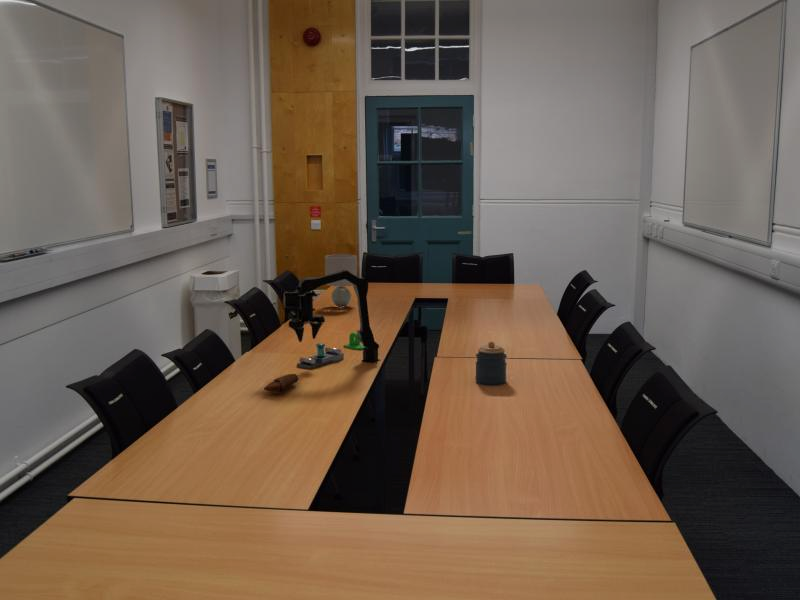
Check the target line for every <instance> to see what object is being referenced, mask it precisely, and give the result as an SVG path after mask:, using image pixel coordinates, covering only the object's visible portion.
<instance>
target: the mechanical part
mask: <svg viewBox="0 0 800 600" xmlns="http://www.w3.org/2000/svg"><path fill="white" fill-rule="evenodd" d="M357 338H358V334H357V331H353V332H351V333H350V334H349V339H348V341H349V343H347V344H346V343H345V344H344V345H343V348H346V349H350V350H357V351H363V348H365V347H364V346H363V344H362V343H361V342H360V341H359V339H357Z"/></svg>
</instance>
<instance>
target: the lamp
mask: <svg viewBox="0 0 800 600" xmlns="http://www.w3.org/2000/svg"><path fill="white" fill-rule="evenodd" d="M357 262H358V256H357V255H356V254H329V255H325V256H324V265H325V267H324V268H325V269H324V270H325V271H324V272H325V274H324V275H328V274H332V273H335V272H339V271H342V270H347V271H349V272H350V273H351V274H353V275H355V276H357V277H358V274H357V273H358V266H357V265H358V263H357ZM326 286H330V287H336V288H334V289H333V291H332V293H331V297H330V298H331V301H332V303H333V305H334V306H338V307H343V306H346V307H347V306H349V304H350V303H351V301H352V293H351V291H350V289H348V288H347V287H351V286H353V284H352V283H351V282H349V281H347V280H346V279H344V280H340V281H336V282H333V283H329V284H326Z"/></svg>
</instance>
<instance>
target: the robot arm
mask: <svg viewBox="0 0 800 600" xmlns="http://www.w3.org/2000/svg"><path fill="white" fill-rule="evenodd" d="M344 279H346V280H347V281H349V282H351V283H352V284H353V285H352V286H353V290H354V292H355V296H356V298H357V307H358V315H359V323H360V327H359V330H356V332H357V334H358V338H357V339H359V341H360V344H361V345H363V346H364V347H365V348H363V350H362V360H361V362H364V363H371V364H374V363H376V362H379V361H381V359H379V348H380V344H378V342H377V341H375V336H374V334H373V331H372V328H371V324H370V317H369V306H368V305H369V304H368V300H367V298H368V297H367V296H368V292H369V281H368V279H366V278H364V277H362V276H358V275H357V276H355V275H353V274H351V273H350V272H349V271H347V270H342V271H339V272H335V273H332V274H328V275H326V274H324V275H322V276H317V277H313V276H311V277H304V278H301V279H300V280H299V282H298V286H297V287H296V288H295V290H294V291H290V292H289V291H284V293H283V298H282V304H283V308H298V306H299V308H298V309H297V311H296V312H294V311H293V310H292V311H289V312H288V314H287V315H288V316H287V317H288V319H289V321H288V327H289V328H290V329H292V330H293V331H294V332H295V334H296V337H297V339H298V342H299V343H302V342H303V338H304V332H305V327H304V326H305V325H306V324H307V325H308V324H309V326H310V327H311V335H312V336H311V337H312V339H313V340H315V339H316V337H317V336H318V334H319V331H320V329H321V327H322V325H323V324H324V323H325V322H326V320H325V319H326V318H325V316H323V315H316V314H315V315H314V312H315V311H316V308H315V307H314V297H318V294H317V293H316V292H315V290H316V289H318V288H320V287H322V286H325V285H326V284H329V283H333V282H336V281H340V280H344ZM326 286H327V285H326Z"/></svg>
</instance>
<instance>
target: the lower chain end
mask: <svg viewBox="0 0 800 600" xmlns="http://www.w3.org/2000/svg"><path fill="white" fill-rule="evenodd" d="M333 363H334V362H333V360H329V361H326V362H322V363H321V362H316V360H315V359H309V358H308V357H299V361H298V363H296V368H301V369H307V370H312V369H316V368H319V367H322V366H326V365H329V364H333Z"/></svg>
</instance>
